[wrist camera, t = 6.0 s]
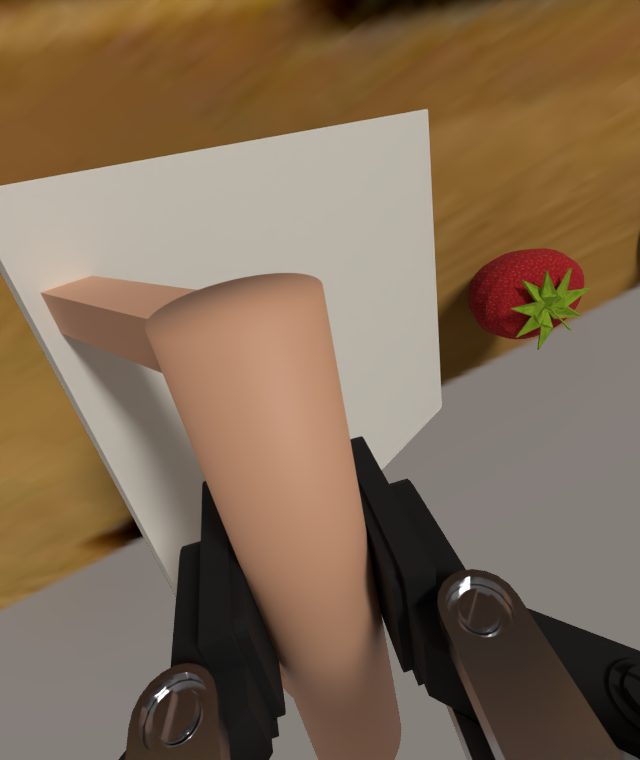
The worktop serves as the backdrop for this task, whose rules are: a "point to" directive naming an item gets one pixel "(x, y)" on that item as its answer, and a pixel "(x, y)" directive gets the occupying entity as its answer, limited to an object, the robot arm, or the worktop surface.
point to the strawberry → (526, 293)
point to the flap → (252, 369)
